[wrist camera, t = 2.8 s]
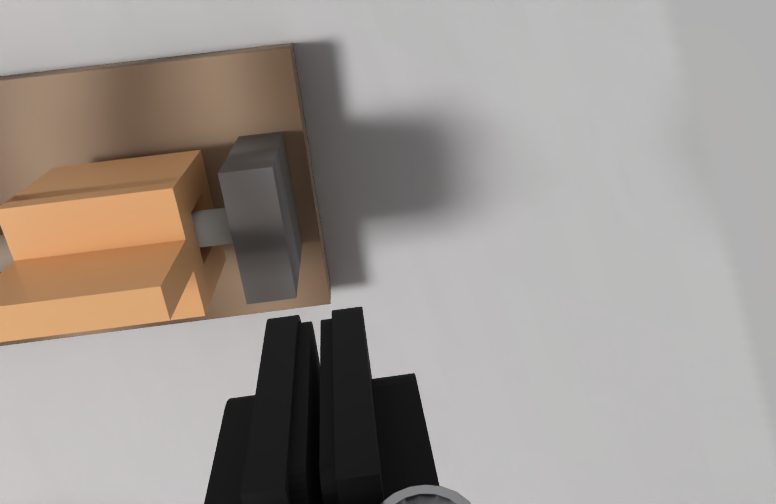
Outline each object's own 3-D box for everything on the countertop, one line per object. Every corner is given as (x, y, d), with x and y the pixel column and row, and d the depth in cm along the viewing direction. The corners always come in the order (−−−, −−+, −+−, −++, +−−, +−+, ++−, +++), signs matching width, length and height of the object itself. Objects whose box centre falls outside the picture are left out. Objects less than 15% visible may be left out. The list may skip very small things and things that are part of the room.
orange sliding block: (200, 149, 22) (143, 227, 15) (225, 259, 23) (185, 371, 17) (54, 167, 22) (-68, 253, 15) (90, 276, 23) (-4, 396, 17)
